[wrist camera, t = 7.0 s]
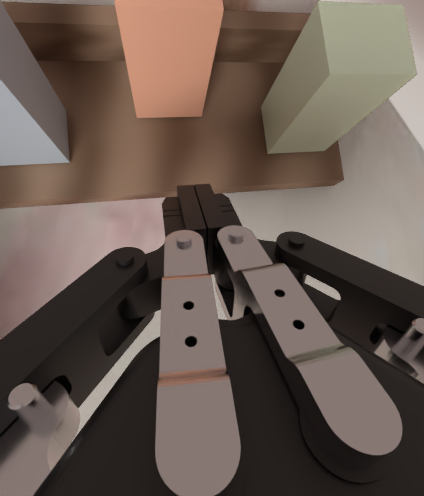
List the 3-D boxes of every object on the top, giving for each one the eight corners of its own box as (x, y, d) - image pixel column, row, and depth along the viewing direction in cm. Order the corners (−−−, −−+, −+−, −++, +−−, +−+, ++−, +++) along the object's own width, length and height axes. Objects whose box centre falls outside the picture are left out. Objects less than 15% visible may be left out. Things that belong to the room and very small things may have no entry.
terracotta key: (136, 118, 22) (115, 5, 13) (132, 69, 22) (107, -74, 13) (201, 116, 22) (223, 10, 14) (196, 69, 23) (214, -65, 14)
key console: (-15, 209, 21) (-66, 189, 16) (-21, 54, 22) (-71, -6, 17) (333, 185, 25) (370, 164, 21) (313, 58, 27) (343, 11, 22)
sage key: (267, 153, 23) (329, 74, 14) (260, 107, 23) (317, 1, 14) (324, 151, 24) (417, 74, 15) (317, 106, 24) (403, 5, 15)
